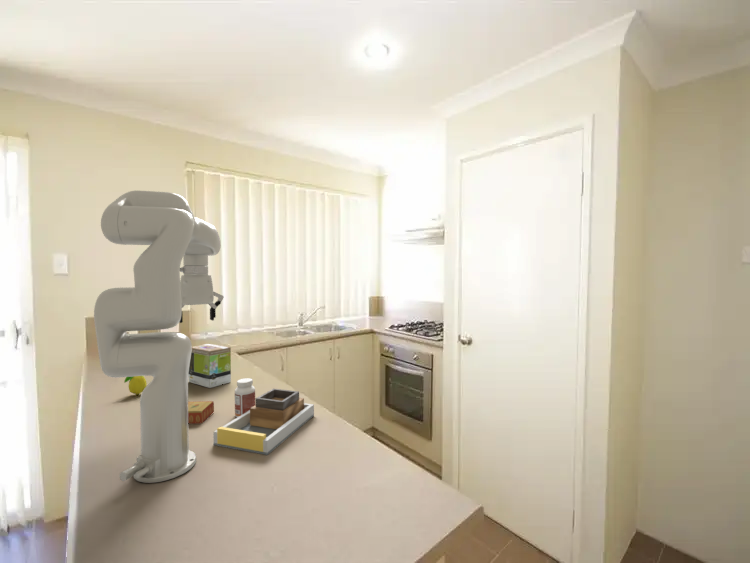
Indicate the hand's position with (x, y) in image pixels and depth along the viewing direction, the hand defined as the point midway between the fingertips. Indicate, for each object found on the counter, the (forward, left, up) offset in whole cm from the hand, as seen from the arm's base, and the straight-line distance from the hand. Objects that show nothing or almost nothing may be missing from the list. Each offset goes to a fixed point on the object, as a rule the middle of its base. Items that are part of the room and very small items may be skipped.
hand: (196, 321), depth 120 cm
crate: (-4, -35, -28) cm, 45 cm away
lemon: (0, +27, -29) cm, 40 cm away
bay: (-9, -35, -29) cm, 46 cm away
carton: (-11, -5, -29) cm, 31 cm away
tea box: (+20, +13, -29) cm, 38 cm away
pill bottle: (-3, -22, -29) cm, 36 cm away
